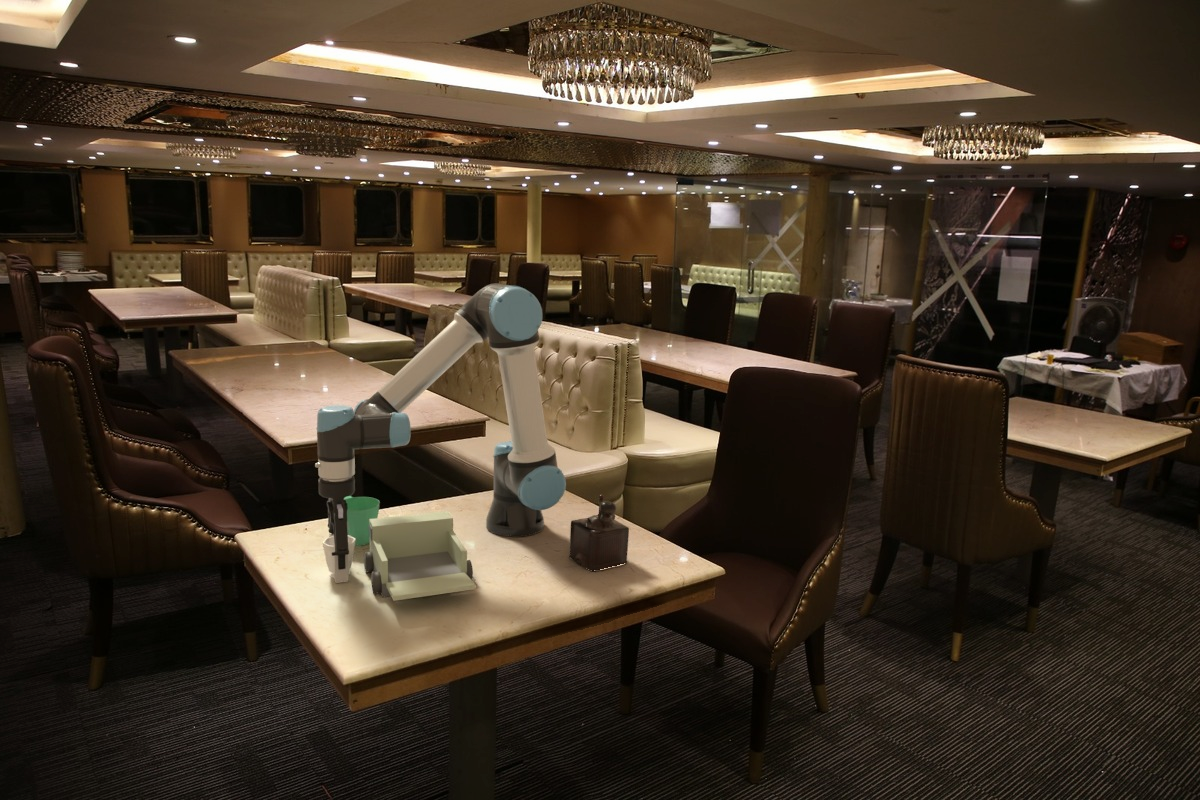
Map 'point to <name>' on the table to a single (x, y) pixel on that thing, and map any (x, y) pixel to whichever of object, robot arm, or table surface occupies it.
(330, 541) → the cup
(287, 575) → the table surface
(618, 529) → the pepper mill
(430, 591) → the panel
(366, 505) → the mug
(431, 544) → the pickup truck
